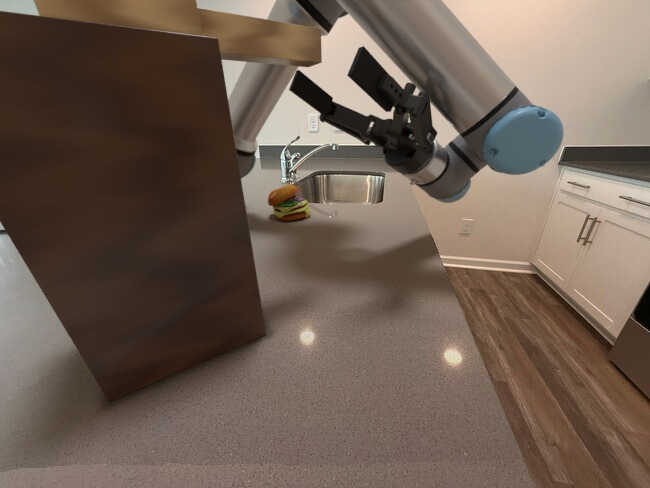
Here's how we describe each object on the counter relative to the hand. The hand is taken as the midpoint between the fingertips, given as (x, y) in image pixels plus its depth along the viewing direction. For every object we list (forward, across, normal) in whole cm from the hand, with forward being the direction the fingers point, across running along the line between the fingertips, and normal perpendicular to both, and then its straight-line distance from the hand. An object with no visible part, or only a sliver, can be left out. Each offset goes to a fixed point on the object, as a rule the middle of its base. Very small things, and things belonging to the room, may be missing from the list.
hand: (318, 71), depth 30 cm
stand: (+3, 0, -36) cm, 36 cm away
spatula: (+10, 0, -5) cm, 11 cm away
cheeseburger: (-23, +33, -21) cm, 45 cm away
